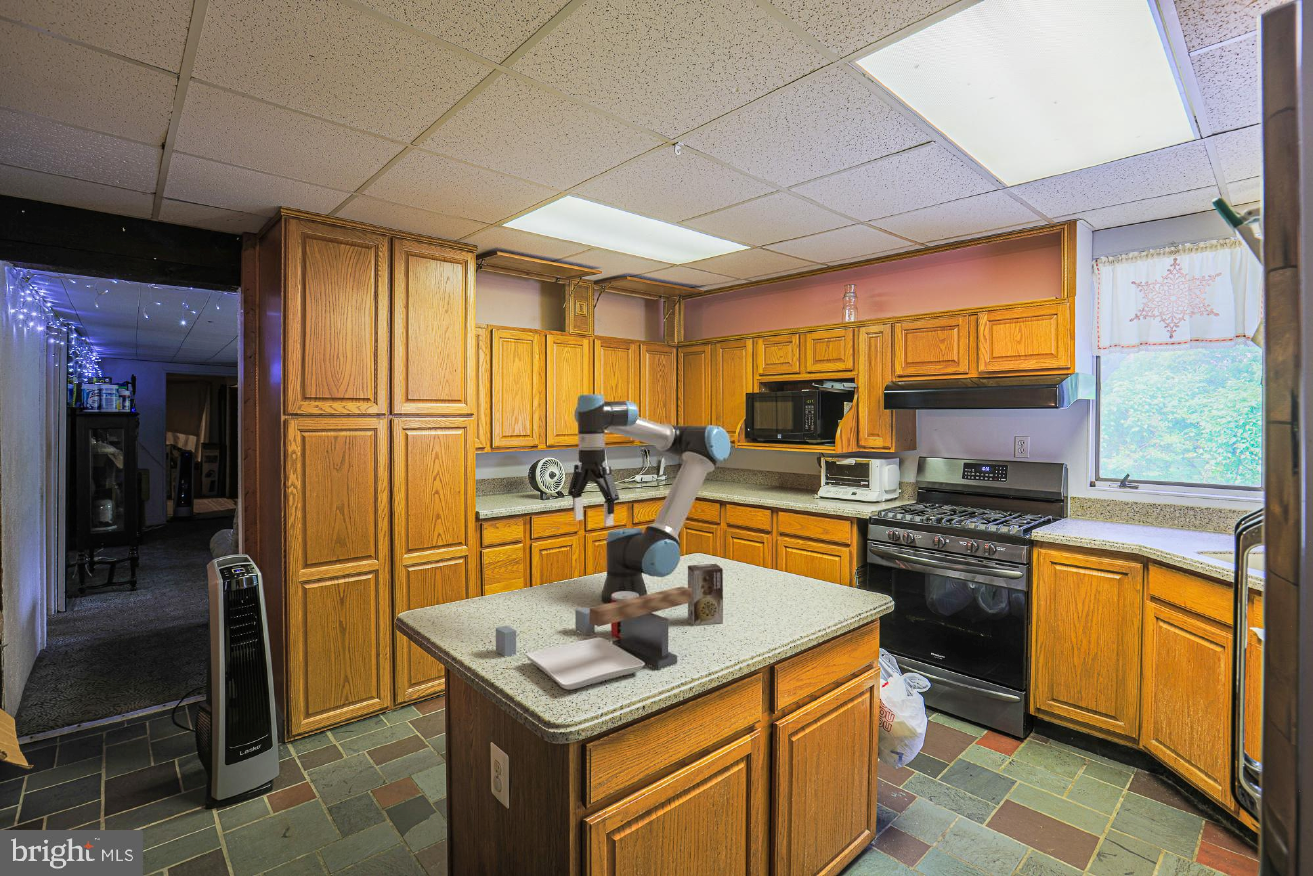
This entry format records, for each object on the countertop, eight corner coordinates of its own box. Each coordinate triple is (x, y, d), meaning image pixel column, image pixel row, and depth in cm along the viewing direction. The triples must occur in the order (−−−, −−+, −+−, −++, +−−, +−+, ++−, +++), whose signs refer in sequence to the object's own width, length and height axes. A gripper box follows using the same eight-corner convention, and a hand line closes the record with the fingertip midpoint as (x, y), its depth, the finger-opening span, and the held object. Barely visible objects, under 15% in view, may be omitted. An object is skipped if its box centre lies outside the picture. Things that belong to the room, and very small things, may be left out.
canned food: (618, 641, 164) (618, 600, 164) (606, 632, 171) (606, 593, 171) (644, 637, 168) (644, 596, 167) (631, 628, 175) (631, 589, 174)
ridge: (630, 643, 163) (630, 601, 163) (677, 663, 149) (677, 618, 149) (612, 648, 159) (612, 606, 159) (658, 670, 145) (658, 623, 145)
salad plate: (647, 676, 143) (647, 661, 143) (564, 700, 130) (564, 683, 130) (600, 648, 160) (600, 635, 160) (523, 667, 148) (523, 652, 148)
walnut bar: (682, 599, 165) (682, 586, 165) (691, 602, 162) (691, 589, 162) (589, 622, 145) (589, 608, 145) (598, 626, 143) (598, 611, 143)
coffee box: (716, 616, 186) (716, 563, 185) (723, 623, 179) (723, 568, 179) (686, 619, 183) (687, 564, 183) (693, 626, 177) (693, 569, 177)
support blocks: (584, 628, 174) (584, 607, 174) (594, 633, 171) (594, 611, 171) (495, 651, 157) (495, 627, 157) (505, 657, 153) (505, 633, 153)
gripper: (554, 448, 183) (556, 519, 184) (610, 451, 165) (612, 529, 166) (575, 446, 188) (577, 516, 189) (631, 449, 171) (632, 525, 172)
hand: (593, 522), depth 178 cm, fingers open, 13 cm apart
